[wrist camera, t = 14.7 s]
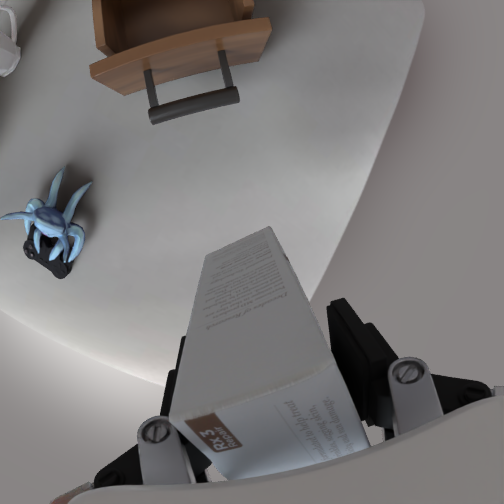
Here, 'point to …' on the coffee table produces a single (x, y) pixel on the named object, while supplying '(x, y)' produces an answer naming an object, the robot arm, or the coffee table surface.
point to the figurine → (52, 230)
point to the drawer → (175, 47)
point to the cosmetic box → (260, 369)
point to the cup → (9, 46)
